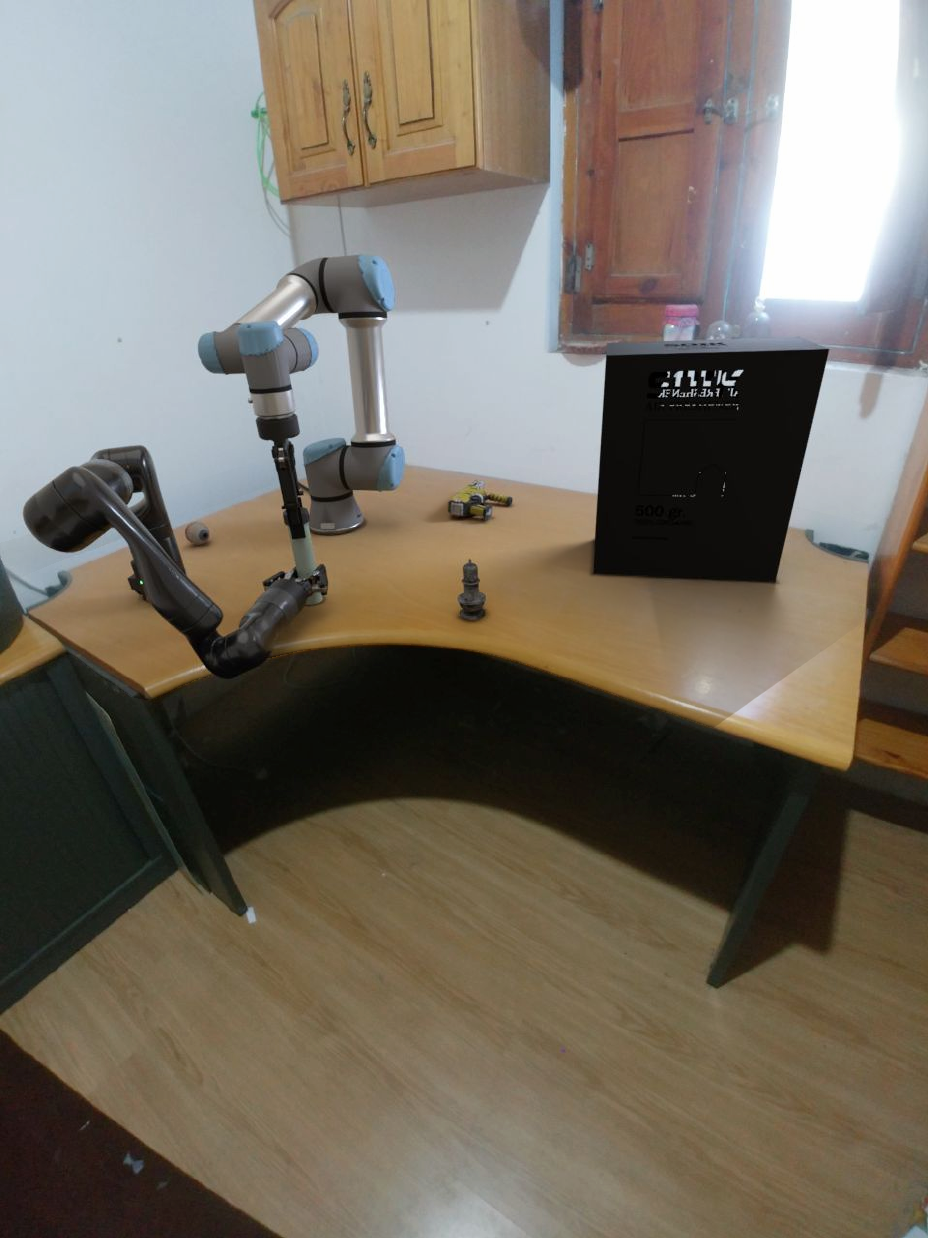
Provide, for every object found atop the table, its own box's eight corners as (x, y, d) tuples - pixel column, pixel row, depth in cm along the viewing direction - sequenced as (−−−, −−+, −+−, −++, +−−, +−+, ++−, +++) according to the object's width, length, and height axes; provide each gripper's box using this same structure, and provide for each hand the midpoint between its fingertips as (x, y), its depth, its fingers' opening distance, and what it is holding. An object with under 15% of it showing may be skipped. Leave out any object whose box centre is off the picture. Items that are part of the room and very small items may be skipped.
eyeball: (198, 549, 158) (192, 528, 155) (183, 545, 161) (177, 524, 158) (217, 541, 163) (211, 520, 160) (202, 538, 166) (196, 517, 163)
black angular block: (755, 543, 144) (798, 336, 121) (775, 581, 127) (829, 348, 104) (594, 538, 151) (606, 342, 129) (592, 573, 134) (606, 355, 112)
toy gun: (520, 484, 182) (474, 477, 186) (498, 508, 162) (446, 499, 166) (519, 500, 184) (473, 492, 188) (497, 524, 164) (445, 516, 168)
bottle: (320, 604, 129) (303, 518, 119) (301, 605, 129) (283, 519, 119) (324, 595, 132) (308, 511, 123) (305, 596, 132) (288, 512, 123)
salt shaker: (484, 621, 119) (482, 566, 113) (455, 619, 120) (451, 564, 114) (489, 607, 124) (487, 553, 118) (461, 605, 125) (458, 552, 119)
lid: (279, 524, 121) (277, 513, 120) (297, 516, 125) (295, 505, 123) (296, 528, 119) (294, 517, 117) (314, 519, 122) (312, 509, 121)
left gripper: (310, 589, 112) (341, 552, 127) (239, 587, 114) (278, 550, 129) (317, 624, 116) (346, 584, 130) (248, 621, 118) (285, 582, 133)
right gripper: (259, 407, 118) (282, 520, 130) (250, 427, 103) (278, 552, 115) (298, 404, 119) (318, 516, 131) (294, 422, 104) (318, 547, 116)
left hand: (312, 567), depth 130 cm, fingers closed on bottle, 4 cm apart
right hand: (299, 532), depth 123 cm, fingers closed on lid, 5 cm apart
